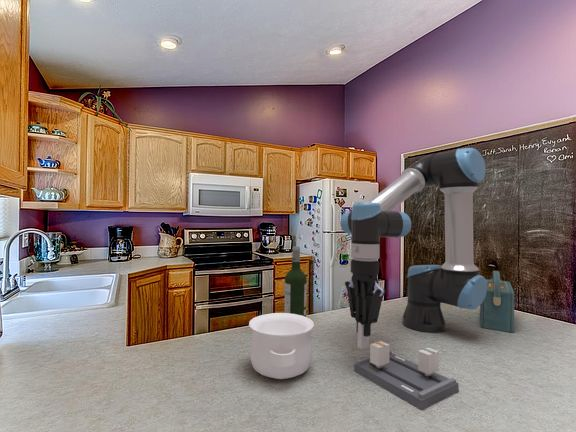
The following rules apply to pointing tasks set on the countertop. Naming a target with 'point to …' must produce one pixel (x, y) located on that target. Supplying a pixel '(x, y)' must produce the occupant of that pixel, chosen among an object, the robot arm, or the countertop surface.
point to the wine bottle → (295, 287)
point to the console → (408, 381)
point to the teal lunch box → (498, 305)
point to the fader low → (379, 353)
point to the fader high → (428, 361)
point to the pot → (281, 344)
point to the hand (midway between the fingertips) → (363, 346)
